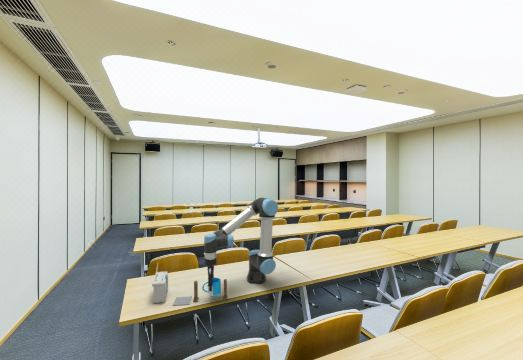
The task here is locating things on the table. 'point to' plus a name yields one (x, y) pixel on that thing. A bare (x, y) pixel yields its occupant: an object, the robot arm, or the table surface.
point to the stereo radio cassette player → (160, 286)
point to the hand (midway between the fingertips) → (211, 292)
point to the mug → (214, 286)
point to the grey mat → (182, 301)
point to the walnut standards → (197, 291)
